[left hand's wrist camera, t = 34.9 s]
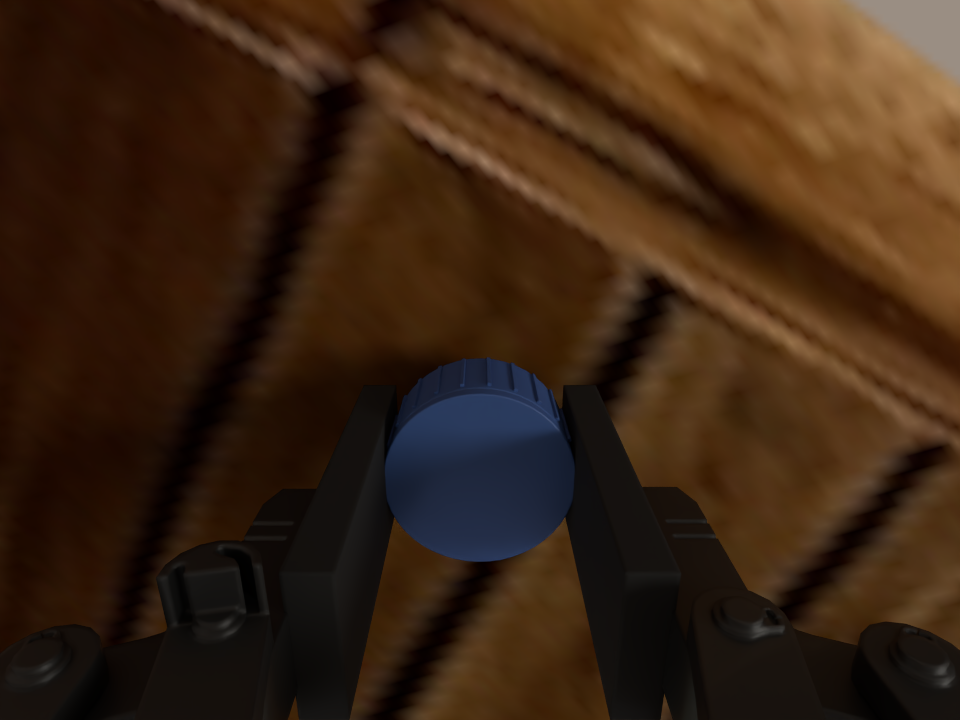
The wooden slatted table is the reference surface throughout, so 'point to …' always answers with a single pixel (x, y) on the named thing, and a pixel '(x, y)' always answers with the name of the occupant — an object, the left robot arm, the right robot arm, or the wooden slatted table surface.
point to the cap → (479, 461)
